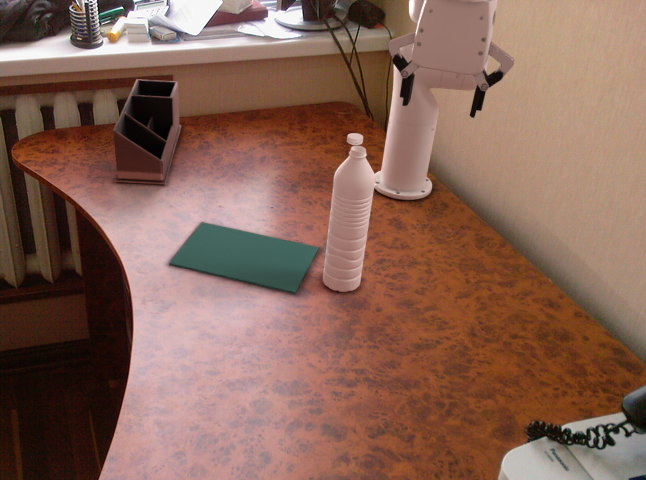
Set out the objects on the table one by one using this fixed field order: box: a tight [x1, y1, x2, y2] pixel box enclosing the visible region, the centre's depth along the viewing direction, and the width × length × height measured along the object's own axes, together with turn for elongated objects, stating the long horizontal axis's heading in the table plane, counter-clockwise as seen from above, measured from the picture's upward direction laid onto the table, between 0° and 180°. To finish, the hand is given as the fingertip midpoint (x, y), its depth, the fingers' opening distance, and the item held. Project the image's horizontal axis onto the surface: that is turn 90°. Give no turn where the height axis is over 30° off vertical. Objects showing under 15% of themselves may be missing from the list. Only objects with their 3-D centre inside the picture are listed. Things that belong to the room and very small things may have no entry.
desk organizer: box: [112, 78, 182, 186], centre depth 160 cm, size 10×29×11 cm, turn 179°
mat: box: [169, 221, 319, 295], centre depth 132 cm, size 15×23×1 cm, turn 72°
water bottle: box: [322, 132, 375, 293], centre depth 121 cm, size 9×6×25 cm
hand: (439, 108), depth 107 cm, fingers open, 9 cm apart
